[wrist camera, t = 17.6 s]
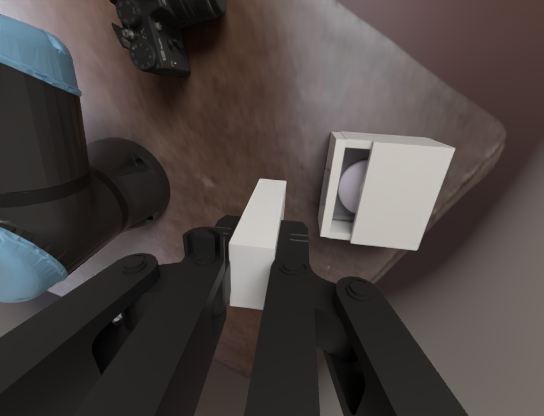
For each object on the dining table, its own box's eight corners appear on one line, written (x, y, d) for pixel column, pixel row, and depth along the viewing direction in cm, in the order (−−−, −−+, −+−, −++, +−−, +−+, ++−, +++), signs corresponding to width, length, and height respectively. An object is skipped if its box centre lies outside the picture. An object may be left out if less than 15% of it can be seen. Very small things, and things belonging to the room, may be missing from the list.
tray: (314, 217, 41) (316, 236, 36) (326, 131, 35) (331, 138, 30) (390, 224, 40) (404, 245, 35) (417, 137, 34) (438, 146, 29)
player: (324, 218, 41) (329, 240, 35) (339, 131, 35) (347, 140, 29) (399, 225, 40) (417, 250, 34) (427, 137, 34) (455, 148, 28)
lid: (386, 212, 38) (390, 217, 36) (333, 207, 38) (334, 212, 37) (401, 160, 34) (406, 164, 33) (342, 156, 35) (344, 158, 33)
